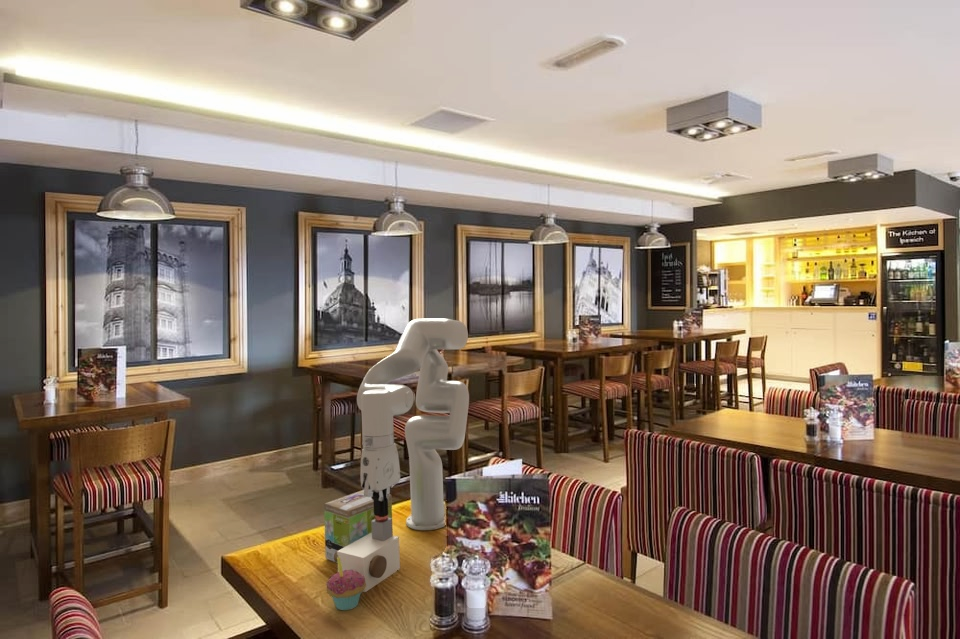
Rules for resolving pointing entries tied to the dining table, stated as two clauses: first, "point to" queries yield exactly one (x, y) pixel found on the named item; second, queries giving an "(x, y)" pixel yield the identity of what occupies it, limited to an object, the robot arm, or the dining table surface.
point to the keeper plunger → (381, 518)
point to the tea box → (348, 521)
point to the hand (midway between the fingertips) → (381, 514)
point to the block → (372, 552)
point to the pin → (374, 565)
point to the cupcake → (345, 587)
